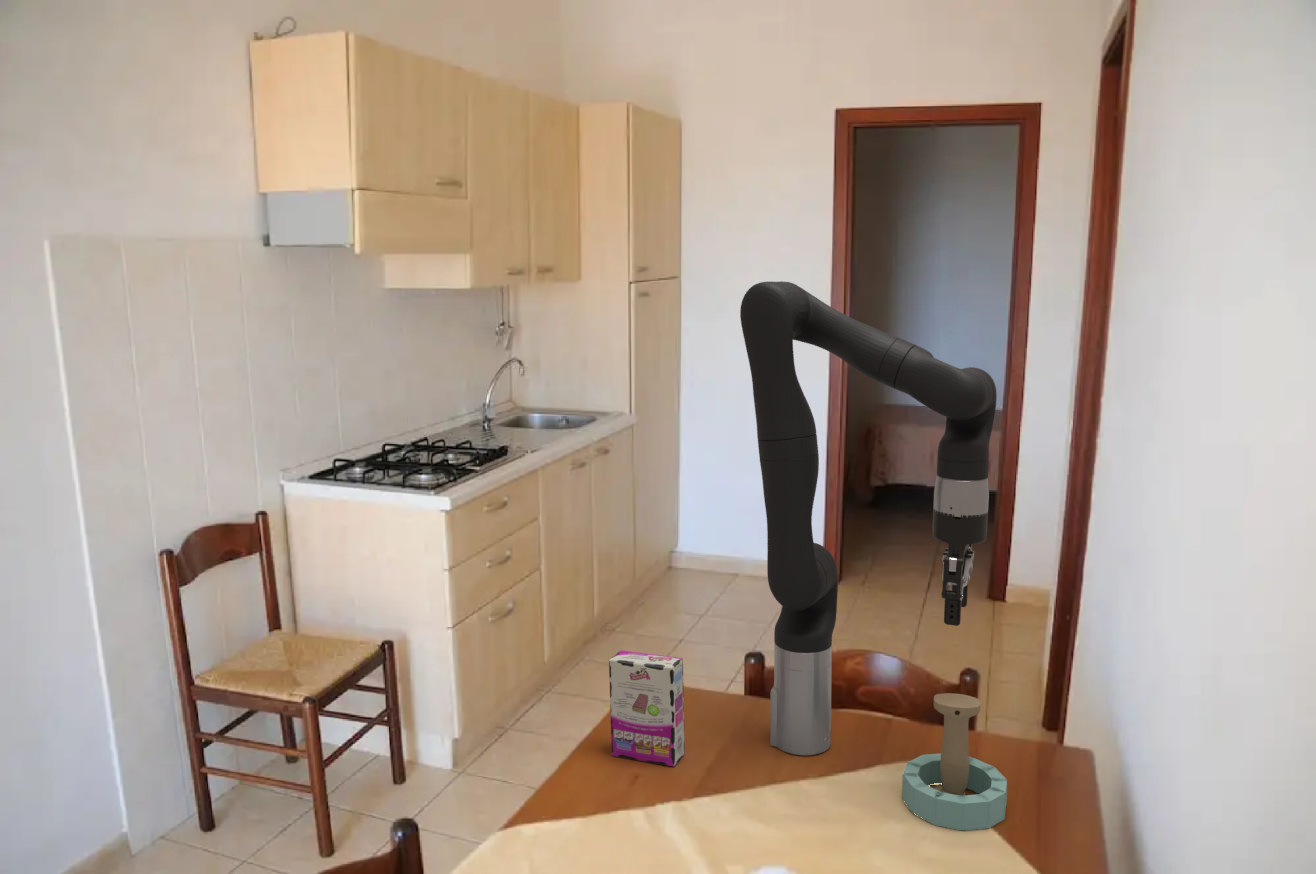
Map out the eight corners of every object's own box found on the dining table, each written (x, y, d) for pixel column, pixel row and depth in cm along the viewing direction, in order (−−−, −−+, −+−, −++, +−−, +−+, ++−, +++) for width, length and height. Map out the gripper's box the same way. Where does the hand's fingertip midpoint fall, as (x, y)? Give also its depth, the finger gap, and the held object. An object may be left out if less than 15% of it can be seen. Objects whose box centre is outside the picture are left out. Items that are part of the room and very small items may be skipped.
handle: (977, 809, 135) (981, 710, 133) (930, 803, 137) (933, 705, 135) (975, 792, 140) (979, 695, 138) (930, 786, 141) (933, 691, 139)
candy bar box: (685, 754, 153) (684, 657, 150) (674, 768, 148) (673, 668, 146) (622, 742, 157) (620, 648, 154) (609, 756, 152) (607, 659, 150)
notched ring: (896, 818, 133) (896, 791, 133) (910, 771, 146) (911, 747, 145) (1002, 839, 128) (1003, 811, 127) (1008, 788, 141) (1009, 763, 140)
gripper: (940, 495, 144) (936, 597, 147) (926, 515, 131) (922, 627, 134) (992, 499, 141) (987, 603, 144) (983, 520, 128) (977, 634, 131)
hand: (955, 615), depth 139 cm, fingers open, 8 cm apart
